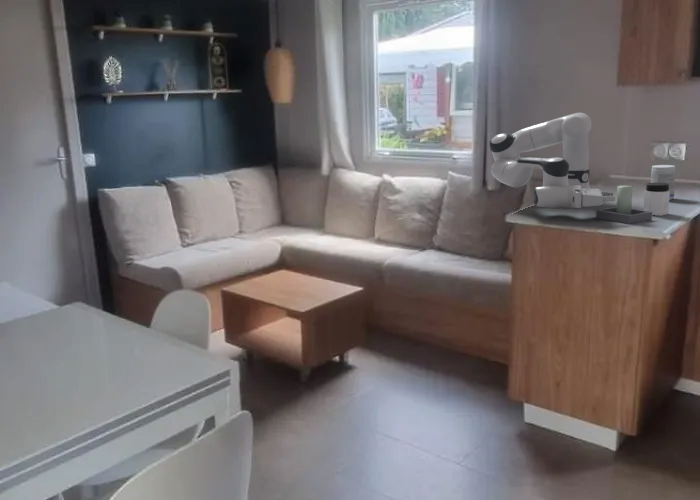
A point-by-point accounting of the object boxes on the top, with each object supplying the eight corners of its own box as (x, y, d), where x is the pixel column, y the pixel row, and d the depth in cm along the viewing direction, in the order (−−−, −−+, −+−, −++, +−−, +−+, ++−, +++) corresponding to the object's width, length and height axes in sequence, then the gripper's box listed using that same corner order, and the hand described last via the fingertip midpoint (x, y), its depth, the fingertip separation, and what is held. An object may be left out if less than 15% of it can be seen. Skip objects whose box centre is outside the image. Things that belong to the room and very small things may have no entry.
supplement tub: (678, 198, 289) (680, 165, 285) (666, 201, 284) (668, 167, 280) (657, 196, 297) (659, 164, 293) (645, 199, 291) (647, 166, 288)
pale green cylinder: (612, 217, 253) (614, 186, 251) (622, 215, 256) (624, 185, 253) (624, 219, 249) (625, 188, 246) (633, 217, 251) (635, 186, 248)
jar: (658, 216, 253) (660, 186, 250) (639, 214, 260) (641, 184, 257) (672, 213, 258) (674, 183, 255) (652, 211, 265) (654, 181, 262)
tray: (595, 217, 257) (596, 210, 256) (617, 214, 262) (618, 206, 261) (629, 223, 243) (629, 215, 242) (651, 219, 248) (652, 211, 247)
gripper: (575, 200, 266) (611, 200, 262) (576, 209, 247) (615, 209, 243) (575, 184, 264) (612, 184, 260) (577, 192, 245) (616, 192, 241)
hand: (614, 196), depth 251 cm, fingers open, 8 cm apart
